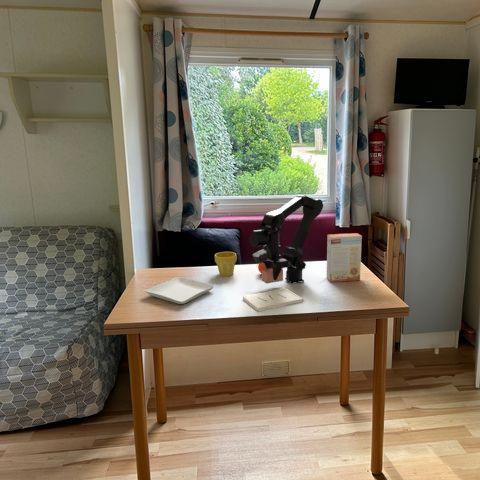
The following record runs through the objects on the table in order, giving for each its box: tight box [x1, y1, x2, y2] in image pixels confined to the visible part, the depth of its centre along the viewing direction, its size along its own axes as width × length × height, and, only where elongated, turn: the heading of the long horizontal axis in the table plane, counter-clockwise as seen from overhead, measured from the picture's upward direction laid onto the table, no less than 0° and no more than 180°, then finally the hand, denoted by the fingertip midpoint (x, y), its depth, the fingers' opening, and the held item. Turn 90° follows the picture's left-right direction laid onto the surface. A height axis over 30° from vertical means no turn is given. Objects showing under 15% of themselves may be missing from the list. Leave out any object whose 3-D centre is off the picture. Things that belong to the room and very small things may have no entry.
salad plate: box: [144, 276, 215, 305], centre depth 167 cm, size 21×21×3 cm
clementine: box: [256, 263, 266, 274], centre depth 189 cm, size 8×7×7 cm
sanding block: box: [261, 268, 284, 284], centre depth 172 cm, size 8×4×5 cm, turn 114°
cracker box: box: [326, 232, 363, 283], centre depth 178 cm, size 14×6×21 cm, turn 94°
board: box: [242, 287, 304, 312], centre depth 159 cm, size 20×13×1 cm, turn 115°
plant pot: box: [214, 251, 238, 277], centre depth 191 cm, size 10×10×10 cm
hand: (272, 278), depth 172 cm, fingers closed on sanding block, 4 cm apart
